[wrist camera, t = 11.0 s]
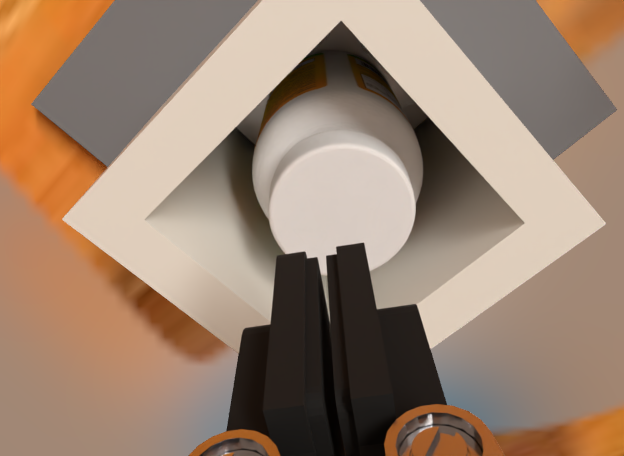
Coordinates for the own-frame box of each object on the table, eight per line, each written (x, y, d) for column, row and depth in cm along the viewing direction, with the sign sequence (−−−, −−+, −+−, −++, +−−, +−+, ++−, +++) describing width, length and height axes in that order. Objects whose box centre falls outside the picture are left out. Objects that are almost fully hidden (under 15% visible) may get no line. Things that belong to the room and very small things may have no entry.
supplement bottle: (264, 171, 25) (240, 295, 16) (267, 44, 23) (240, 111, 14) (387, 178, 25) (426, 304, 17) (402, 52, 23) (459, 123, 14)
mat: (606, 103, 26) (617, 109, 25) (319, 330, 32) (320, 341, 31) (332, -261, 20) (333, -270, 19) (41, 98, 26) (31, 104, 25)
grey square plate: (426, 108, 25) (430, 114, 24) (323, 199, 27) (323, 208, 26) (327, -2, 23) (328, 1, 22) (223, 106, 25) (220, 112, 24)
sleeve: (487, 108, 25) (606, 223, 15) (322, 249, 28) (328, 421, 18) (328, -78, 22) (344, -90, 12) (162, 105, 25) (61, 219, 15)
